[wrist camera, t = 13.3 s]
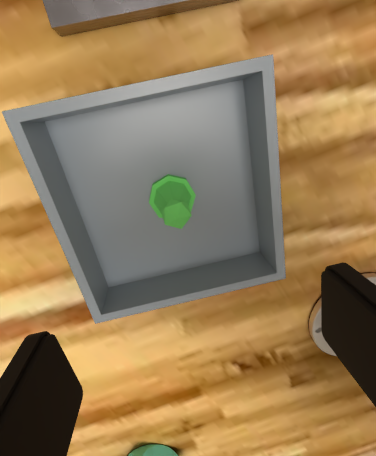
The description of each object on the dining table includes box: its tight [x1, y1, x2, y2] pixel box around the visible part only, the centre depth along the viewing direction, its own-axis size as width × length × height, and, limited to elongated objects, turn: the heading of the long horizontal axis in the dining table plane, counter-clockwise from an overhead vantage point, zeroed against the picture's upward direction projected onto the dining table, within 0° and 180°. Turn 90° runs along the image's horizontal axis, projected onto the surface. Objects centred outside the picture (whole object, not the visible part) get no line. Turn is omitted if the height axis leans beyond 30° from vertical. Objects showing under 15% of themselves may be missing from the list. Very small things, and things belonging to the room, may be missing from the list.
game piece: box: [149, 174, 196, 229], centre depth 22 cm, size 4×4×6 cm
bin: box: [2, 55, 286, 324], centre depth 23 cm, size 18×18×5 cm
